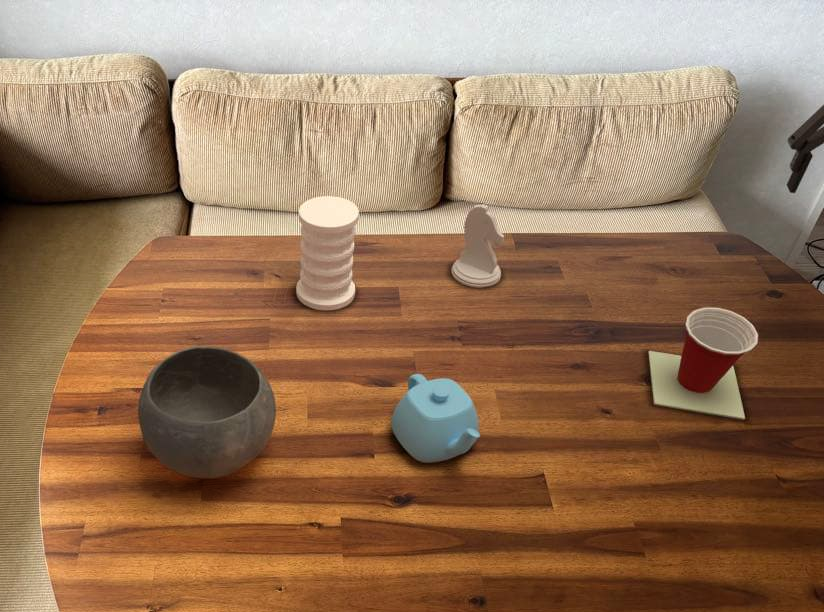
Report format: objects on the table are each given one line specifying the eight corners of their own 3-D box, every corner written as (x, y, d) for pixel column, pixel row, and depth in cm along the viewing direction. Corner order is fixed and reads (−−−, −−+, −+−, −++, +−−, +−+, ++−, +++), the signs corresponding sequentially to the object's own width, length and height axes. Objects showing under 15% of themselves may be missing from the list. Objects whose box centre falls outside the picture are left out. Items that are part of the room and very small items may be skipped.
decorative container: (346, 315, 146) (352, 232, 134) (288, 304, 149) (288, 222, 136) (361, 281, 154) (367, 200, 142) (305, 271, 157) (307, 191, 144)
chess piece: (486, 293, 151) (501, 226, 140) (442, 276, 155) (453, 210, 145) (508, 270, 156) (524, 204, 146) (465, 254, 161) (477, 189, 150)
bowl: (212, 526, 111) (204, 456, 100) (118, 457, 121) (102, 387, 110) (302, 447, 122) (303, 377, 111) (210, 390, 131) (203, 320, 121)
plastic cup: (664, 399, 129) (691, 343, 120) (658, 357, 136) (682, 303, 128) (734, 409, 127) (766, 354, 118) (724, 367, 134) (752, 312, 126)
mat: (732, 365, 135) (732, 363, 135) (744, 420, 126) (745, 418, 125) (648, 352, 138) (648, 350, 138) (653, 404, 128) (654, 403, 128)
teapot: (443, 447, 107) (378, 370, 119) (433, 496, 115) (373, 418, 126) (517, 420, 111) (447, 347, 123) (502, 469, 118) (438, 396, 130)
